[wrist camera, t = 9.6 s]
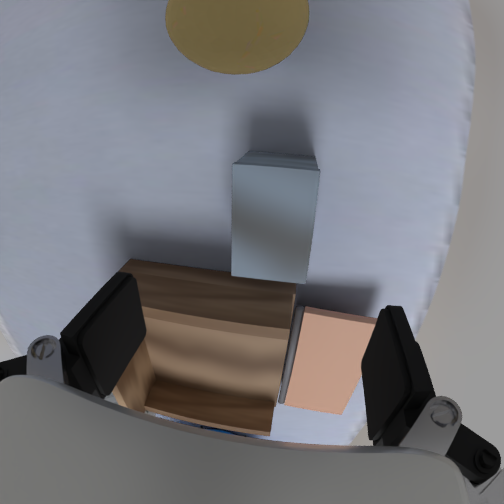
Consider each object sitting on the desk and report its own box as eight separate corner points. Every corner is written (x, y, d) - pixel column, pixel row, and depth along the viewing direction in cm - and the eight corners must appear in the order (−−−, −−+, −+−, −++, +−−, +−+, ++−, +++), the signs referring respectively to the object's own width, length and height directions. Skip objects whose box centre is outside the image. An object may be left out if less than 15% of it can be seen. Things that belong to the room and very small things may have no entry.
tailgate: (294, 310, 23) (382, 325, 21) (296, 304, 23) (382, 319, 22) (277, 403, 29) (341, 414, 28) (279, 397, 30) (342, 409, 28)
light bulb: (197, 66, 17) (118, 45, 9) (234, -8, 14) (184, -75, 6) (282, 98, 18) (265, 91, 9) (321, 22, 15) (337, -42, 6)
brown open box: (130, 258, 26) (78, 315, 19) (296, 280, 24) (290, 357, 17) (156, 370, 34) (129, 424, 26) (277, 393, 32) (268, 456, 24)
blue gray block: (248, 150, 20) (232, 164, 16) (315, 155, 19) (320, 171, 15) (245, 241, 23) (231, 275, 19) (305, 247, 23) (305, 284, 18)
